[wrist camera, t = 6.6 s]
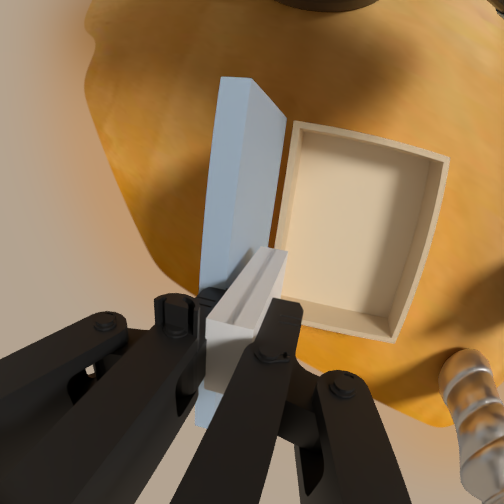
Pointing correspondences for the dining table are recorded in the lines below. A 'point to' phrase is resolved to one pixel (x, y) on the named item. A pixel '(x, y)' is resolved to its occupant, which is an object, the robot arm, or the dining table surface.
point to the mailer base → (357, 227)
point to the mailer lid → (238, 193)
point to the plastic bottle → (476, 423)
